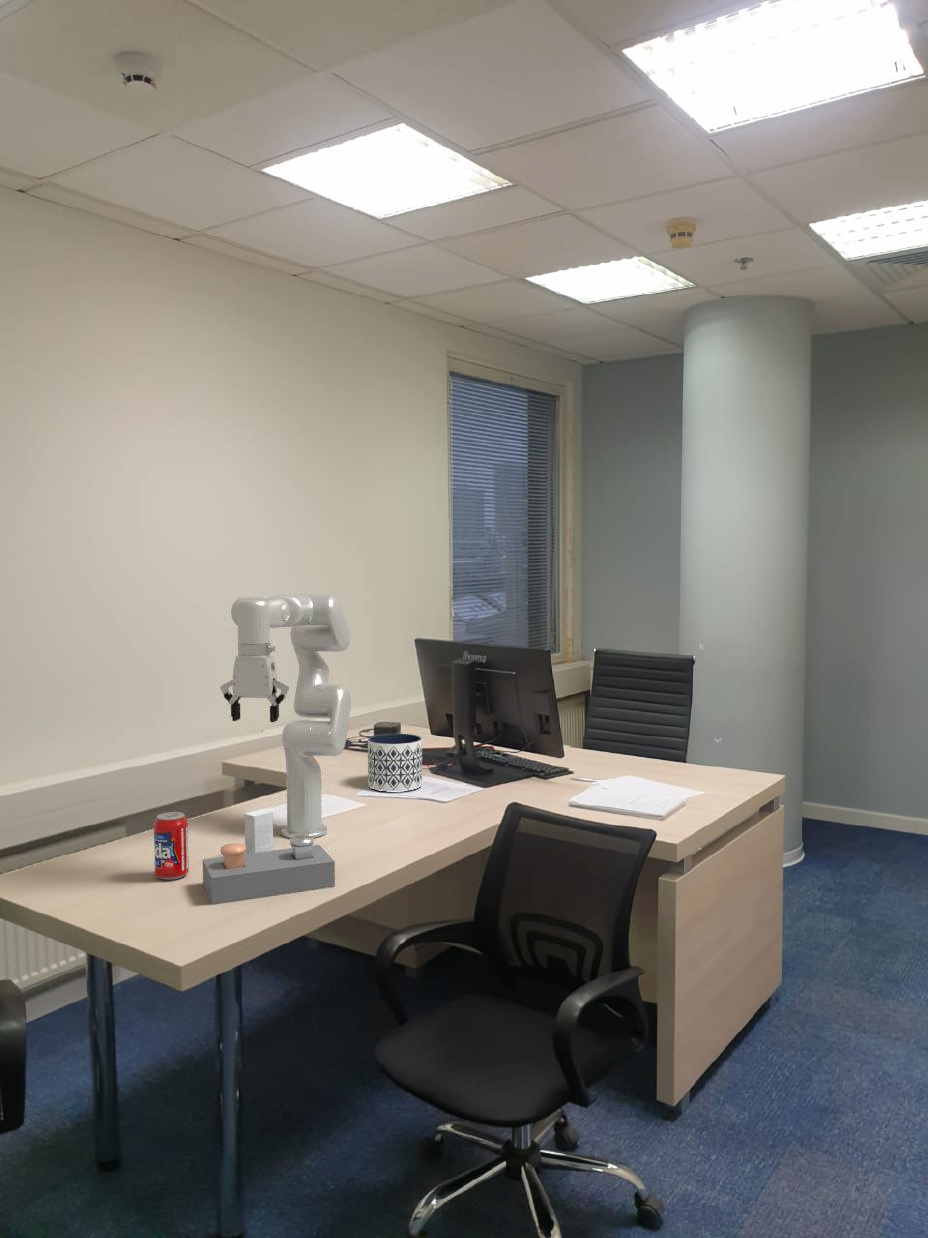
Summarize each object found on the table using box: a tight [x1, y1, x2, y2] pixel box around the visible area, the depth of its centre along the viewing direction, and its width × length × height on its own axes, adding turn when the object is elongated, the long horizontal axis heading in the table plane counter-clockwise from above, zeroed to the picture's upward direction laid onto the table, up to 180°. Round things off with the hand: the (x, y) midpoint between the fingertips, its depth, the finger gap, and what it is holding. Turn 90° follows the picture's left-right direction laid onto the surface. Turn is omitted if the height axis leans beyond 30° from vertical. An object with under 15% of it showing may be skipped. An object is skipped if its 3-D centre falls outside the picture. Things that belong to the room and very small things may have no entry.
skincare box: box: [243, 808, 275, 854], centre depth 238 cm, size 6×4×12 cm
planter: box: [367, 733, 423, 791], centre depth 313 cm, size 18×18×16 cm
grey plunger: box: [289, 835, 315, 860], centre depth 221 cm, size 6×6×6 cm
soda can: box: [153, 811, 190, 881], centre depth 224 cm, size 8×8×15 cm
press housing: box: [202, 844, 336, 906], centre depth 218 cm, size 14×28×6 cm, turn 114°
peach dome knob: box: [220, 842, 246, 869], centre depth 214 cm, size 6×6×6 cm
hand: (255, 720), depth 226 cm, fingers open, 9 cm apart
